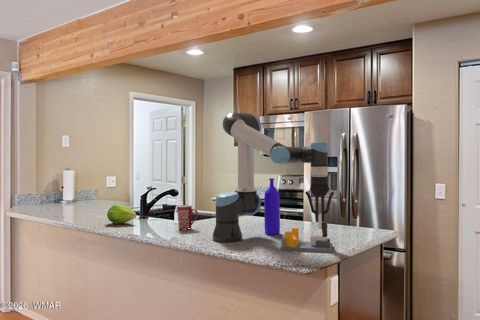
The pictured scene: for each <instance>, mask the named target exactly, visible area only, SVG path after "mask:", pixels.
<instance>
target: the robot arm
mask: <svg viewBox="0 0 480 320" xmlns="http://www.w3.org/2000/svg"><path fill="white" fill-rule="evenodd" d="M222 128H223V130H224V132H225V133H226V134H227V135H229V136H231V137H233V138H234V139H235V140H236V142H237V187H236V189H235V190H234V191H229V192H221V193H219V194H217V195H216V197H215V203H214V204H215V225H214V230H213V232H212V241H214V242H217V243H218V242H220V243H233V242H239V241H242V240H243V233H242V229H241V226H240V222H239V221H240V220H239V219H240V217H246V216H251V215H255V214H257V213H258V211H260V209H261V206H262V199H261V197H260V195H259V193H258V191H257V189H256V188H255V149H257V150H258V151H260V152H261V153H264V154H265V155H267V156H268V157H270V158H271V160H272V162H273V163H275V164H279V165H285V164H310V175H311V177H310V189H309V190H306V191H305V195H306V196H307V200H308V203H309V207H310V211H311V213H312V214H315V222H317V226H318V227H317V228H318V230H322V222H325V215H326V214H328V213H329V211H330V206H331V202H332V199H333V198H332V197H333V196H334V195H335V192H334V191H332V190H331V189H330V187H329V177H328V175H329V163H328V161H329V157H328V156H329V150H328V149H329V148H328V143H327V142H325V141H312V142H310V146H286V145H284V144H283V143H281V142H279V141H277V140H276V139H274V138H272V137H270V136H268V135H267V134H264V133H262V132H261V130H262V122H261V119H260V118H259V117H258V116H256V114H252V113H244V112H237V111H236V112H235V111H233V112H230V113H227V114H226V115H225V116H224V118H223V120H222ZM327 194H328V195H329V196H328V199H327V203H326V208H325V196H326V195H327ZM312 195H313V196H314V198H315V199H314V202H315V205H314V203H313V199H312ZM319 198H320V200H321V201H320V203H321V209H320V210H321V213H320V211H319ZM314 206H315V207H314Z"/></svg>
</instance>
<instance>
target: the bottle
mask: <svg viewBox="0 0 480 320" xmlns="http://www.w3.org/2000/svg"><path fill="white" fill-rule="evenodd" d="M268 180H269V187H268V188H267V189H266V191H265V192H264V196H263V197H264V201H263V202H264V203H263V204H264V205H263V206H264V210H263V211H264V212H263V213H264V216H263V217H264V233H265V235H266V236H278V235H280V232H281V210H280V209H281V206H280V205H281V204H280V202H281V201H280V192H279V191H278V189H277V188H276V187H275V184H274V183H275V178H272V177H270V178H268Z"/></svg>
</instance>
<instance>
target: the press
mask: <svg viewBox="0 0 480 320" xmlns="http://www.w3.org/2000/svg"><path fill="white" fill-rule="evenodd" d="M280 241H281V246H280V251H285V252H286V251H291V252H311V253H329V254H330V253H333V242H331V239H330V238H327V242H325V241H316V246H312V245H311V241H300V240H299V245H297V246H296V247H287V246H285V233H283V235H282V236H281V240H280Z"/></svg>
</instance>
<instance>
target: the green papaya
mask: <svg viewBox="0 0 480 320" xmlns="http://www.w3.org/2000/svg"><path fill="white" fill-rule="evenodd" d="M106 217H107V219H108V220H109V222H111V223H113V224H114V225H118V224H119V225H120V223H121V224H125V223H128V222H130V221H132V220H134V219H136V218H137V213H136V212H135V211H134V210H133V209H131V208H130V207H128V206H125V205H119V204H118V205H117V204H113V205H112V206H111V207H109V208H108V209H107V213H106Z"/></svg>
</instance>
